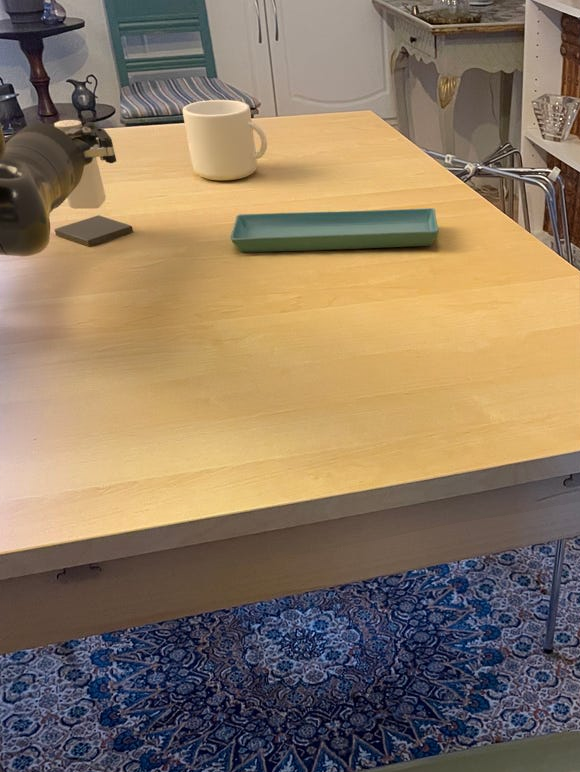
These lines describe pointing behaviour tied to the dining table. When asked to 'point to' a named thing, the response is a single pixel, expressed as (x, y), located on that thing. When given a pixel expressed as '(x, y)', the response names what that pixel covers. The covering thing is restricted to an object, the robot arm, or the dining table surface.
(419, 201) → the dining table surface
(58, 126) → the salt shaker
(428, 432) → the dining table surface
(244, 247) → the rectangular tray
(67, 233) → the coaster
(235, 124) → the mug
